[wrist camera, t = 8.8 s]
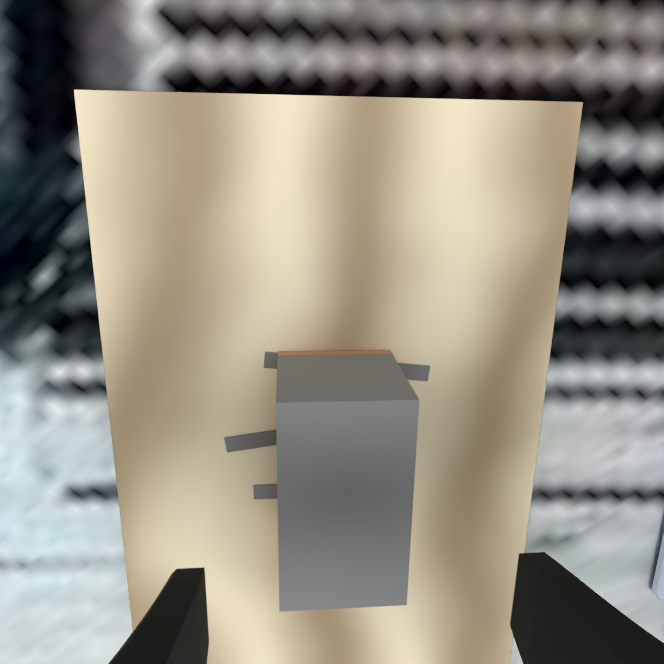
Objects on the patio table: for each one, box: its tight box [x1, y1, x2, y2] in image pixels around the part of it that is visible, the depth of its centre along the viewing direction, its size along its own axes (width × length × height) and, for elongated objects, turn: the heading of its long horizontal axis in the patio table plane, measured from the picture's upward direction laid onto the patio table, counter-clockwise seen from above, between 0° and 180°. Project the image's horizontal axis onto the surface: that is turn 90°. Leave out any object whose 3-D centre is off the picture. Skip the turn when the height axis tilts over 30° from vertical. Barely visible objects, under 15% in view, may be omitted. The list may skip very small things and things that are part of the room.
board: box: [74, 90, 583, 664], centre depth 22 cm, size 16×26×2 cm, turn 179°
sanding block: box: [276, 350, 419, 612], centre depth 18 cm, size 4×7×4 cm, turn 179°
